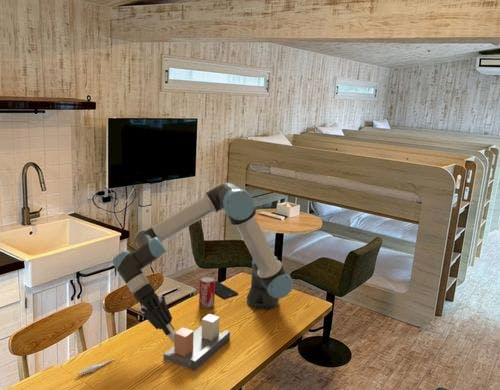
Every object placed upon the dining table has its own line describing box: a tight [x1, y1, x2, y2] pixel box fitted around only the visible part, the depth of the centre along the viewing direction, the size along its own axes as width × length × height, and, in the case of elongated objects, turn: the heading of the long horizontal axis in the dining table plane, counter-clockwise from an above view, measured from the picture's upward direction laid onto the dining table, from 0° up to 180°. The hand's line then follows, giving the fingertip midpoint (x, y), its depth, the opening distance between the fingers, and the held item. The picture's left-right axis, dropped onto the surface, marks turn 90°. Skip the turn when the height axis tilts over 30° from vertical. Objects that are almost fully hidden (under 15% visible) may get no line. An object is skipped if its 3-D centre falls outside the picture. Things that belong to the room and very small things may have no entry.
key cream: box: [201, 313, 221, 341], centre depth 179 cm, size 5×5×8 cm
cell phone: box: [214, 280, 239, 300], centre depth 226 cm, size 9×18×1 cm, turn 41°
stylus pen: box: [77, 358, 116, 376], centre depth 160 cm, size 15×3×2 cm, turn 138°
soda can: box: [198, 275, 216, 309], centre depth 209 cm, size 7×7×13 cm
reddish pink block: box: [173, 326, 195, 357], centre depth 168 cm, size 5×5×8 cm
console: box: [163, 325, 231, 372], centre depth 174 cm, size 14×24×4 cm, turn 152°
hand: (175, 340), depth 170 cm, fingers closed
